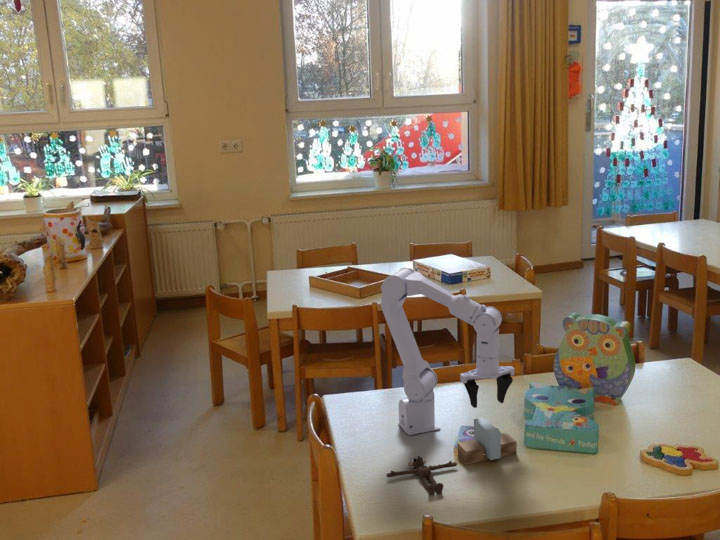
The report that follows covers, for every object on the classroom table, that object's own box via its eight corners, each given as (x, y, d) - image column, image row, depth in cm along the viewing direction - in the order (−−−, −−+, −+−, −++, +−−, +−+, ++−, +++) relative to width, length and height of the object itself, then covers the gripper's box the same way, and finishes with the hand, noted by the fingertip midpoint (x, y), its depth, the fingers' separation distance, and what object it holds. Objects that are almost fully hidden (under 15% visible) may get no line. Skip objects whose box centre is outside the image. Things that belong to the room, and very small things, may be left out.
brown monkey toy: (398, 491, 171) (380, 455, 184) (398, 507, 172) (380, 470, 186) (473, 478, 175) (450, 444, 188) (472, 494, 177) (449, 459, 190)
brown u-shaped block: (466, 464, 187) (466, 451, 186) (457, 455, 191) (457, 442, 190) (516, 453, 191) (516, 441, 190) (506, 445, 195) (506, 432, 195)
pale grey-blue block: (490, 460, 186) (490, 434, 185) (473, 444, 195) (473, 419, 193) (500, 458, 187) (500, 432, 185) (483, 442, 195) (483, 417, 194)
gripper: (468, 364, 188) (468, 414, 191) (520, 356, 192) (519, 405, 195) (456, 354, 195) (456, 403, 198) (507, 347, 199) (506, 395, 202)
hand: (487, 403), depth 197 cm, fingers open, 7 cm apart
